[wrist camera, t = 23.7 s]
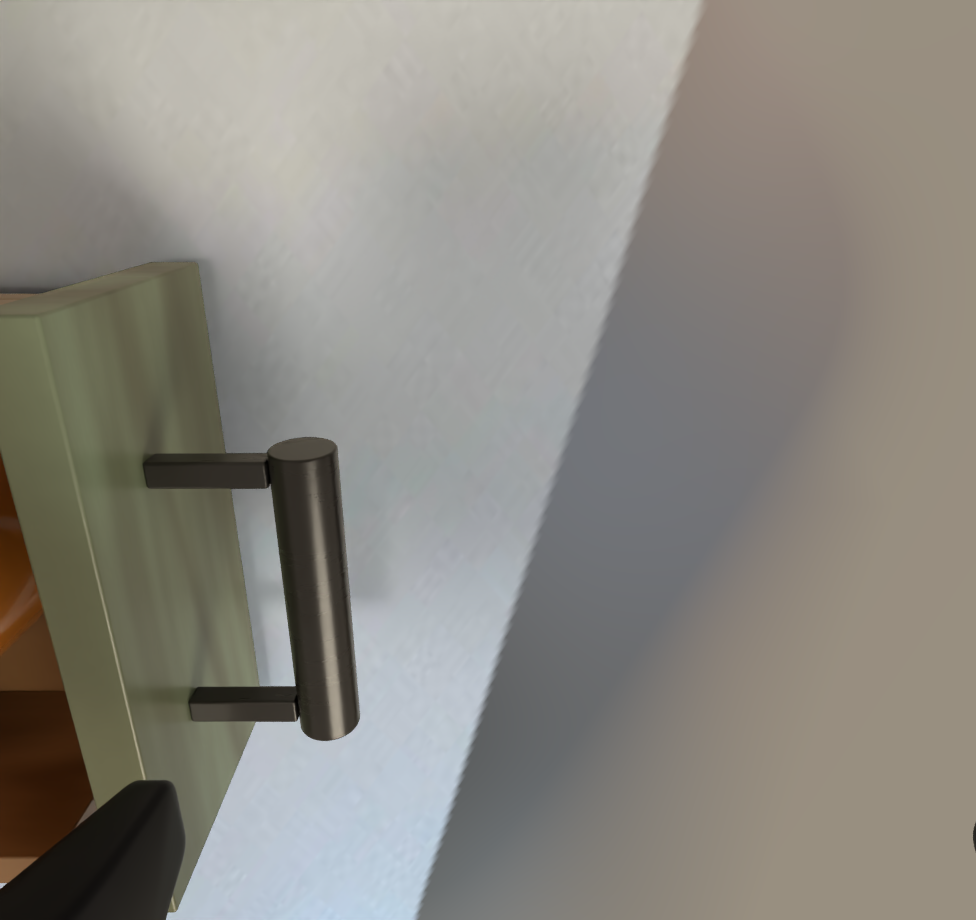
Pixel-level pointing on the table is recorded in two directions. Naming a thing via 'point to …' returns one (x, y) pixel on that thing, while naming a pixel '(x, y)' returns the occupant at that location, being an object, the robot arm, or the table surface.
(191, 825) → the drawer
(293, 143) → the table surface
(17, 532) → the amber jar
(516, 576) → the table surface
